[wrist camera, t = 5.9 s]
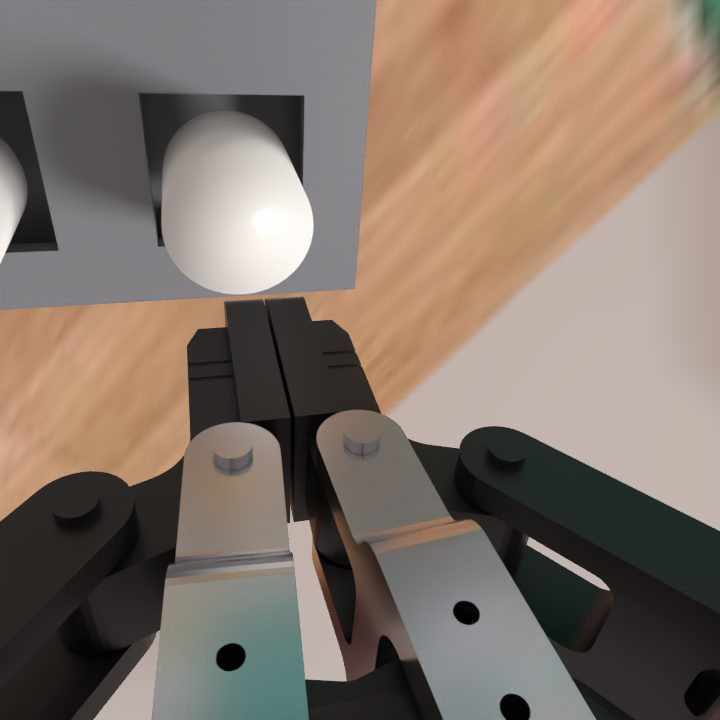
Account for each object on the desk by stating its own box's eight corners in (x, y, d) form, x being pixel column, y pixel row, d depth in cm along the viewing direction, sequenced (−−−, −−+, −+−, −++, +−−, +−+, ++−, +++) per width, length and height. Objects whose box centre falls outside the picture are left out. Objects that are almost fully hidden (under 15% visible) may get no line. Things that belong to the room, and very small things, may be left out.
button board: (-449, -483, 12) (-599, -574, 10) (369, -335, 16) (404, -376, 13) (-128, 272, 21) (-165, 319, 19) (337, 251, 25) (354, 289, 23)
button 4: (155, 109, 18) (152, 155, 14) (291, 110, 18) (315, 153, 15) (169, 235, 20) (169, 298, 17) (290, 231, 21) (311, 290, 18)
